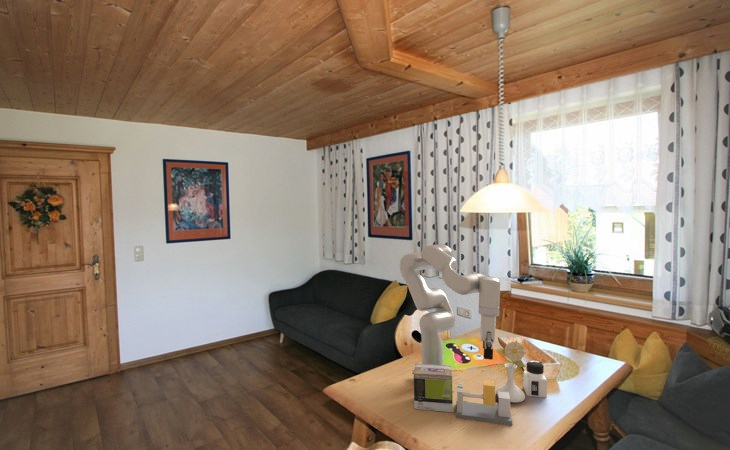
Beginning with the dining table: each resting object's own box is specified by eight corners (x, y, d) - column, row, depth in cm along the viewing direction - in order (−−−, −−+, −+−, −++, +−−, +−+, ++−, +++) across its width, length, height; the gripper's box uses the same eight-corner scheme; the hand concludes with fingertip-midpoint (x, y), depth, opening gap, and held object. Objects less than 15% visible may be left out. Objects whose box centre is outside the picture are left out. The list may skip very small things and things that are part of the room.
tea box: (452, 400, 154) (452, 365, 153) (452, 413, 144) (452, 376, 144) (415, 396, 157) (415, 362, 156) (413, 409, 147) (413, 372, 147)
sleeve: (483, 404, 141) (483, 385, 141) (483, 399, 145) (483, 380, 145) (494, 406, 140) (494, 386, 140) (494, 400, 144) (494, 381, 144)
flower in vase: (489, 394, 158) (490, 336, 157) (510, 389, 163) (511, 332, 161) (513, 410, 146) (513, 347, 145) (534, 403, 151) (535, 342, 149)
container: (546, 398, 155) (547, 367, 154) (527, 396, 156) (527, 366, 156) (542, 389, 162) (542, 359, 162) (523, 387, 164) (523, 358, 163)
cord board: (455, 417, 141) (455, 393, 141) (456, 404, 151) (456, 381, 150) (512, 425, 136) (512, 399, 136) (509, 410, 146) (509, 386, 145)
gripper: (478, 303, 152) (477, 344, 153) (479, 316, 135) (477, 362, 137) (497, 304, 150) (496, 346, 151) (501, 318, 133) (499, 364, 135)
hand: (487, 353), depth 144 cm, fingers open, 9 cm apart
